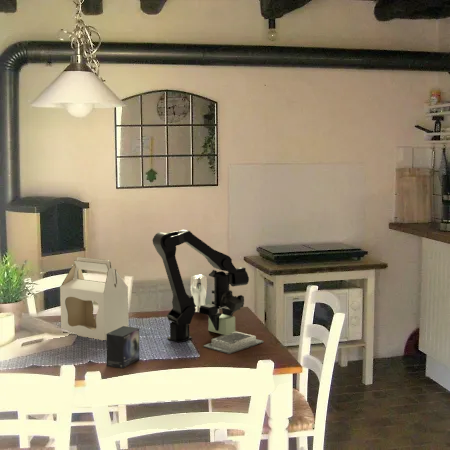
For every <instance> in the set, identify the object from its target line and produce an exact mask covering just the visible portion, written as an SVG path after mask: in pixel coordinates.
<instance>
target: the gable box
mask: <svg viewBox="0 0 450 450" xmlns="http://www.w3.org/2000/svg"><path fill="white" fill-rule="evenodd" d="M73 261H74V264H71V267H70V270H69V271H68V272H67V275H65V276H66V277H65V278H64V280H63V282H62V283H61V285H60V287H59V291H60V292H59V293H60V294H59V295H60V297H59V298H60V299H59V300H60V302H59V303H60V325H61V326H60V327H61V328H63V329H66V330H69V331H71V332H74V333H76V334H77V335H78V336H79V337H83V338H87V337H88V339H93V338H94V339H93V340H98V339H99V341H103V340H106V341H107V335H106V334H107V333H109V332H112V331H114V330H116V329H118V328H120V327H122V326H127V327H130V325H129V287H128V285H127V284H126V282H125V281H124V280H123V277H121V275H120V274H119V273H118V271H117V269H116V268H114V267H112V263H111V261H110V260H109V259H103V258H94V257H93V258H92V257H85V256H83V257H82V256H77V257H76V259H75V260H73ZM83 270H84V271H92V272H101V273H105V274H106V280H105V281H97V280H90V279H85V277H84V275H83ZM92 301H93V303H92ZM94 302H95V303H97V306H98V307H97V313H96V316H94ZM77 335H76V336H77Z"/></svg>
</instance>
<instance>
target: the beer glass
mask: <svg viewBox="0 0 450 450" xmlns="http://www.w3.org/2000/svg"><path fill="white" fill-rule="evenodd" d="M207 280H208V279H207V275H204V274H192V275H190V294H191V296H193V298H194V303H195V305H196V307H195V313H199V307H200V306H202V305H206V297H207V290H208V289H207V288H208V282H207Z"/></svg>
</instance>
